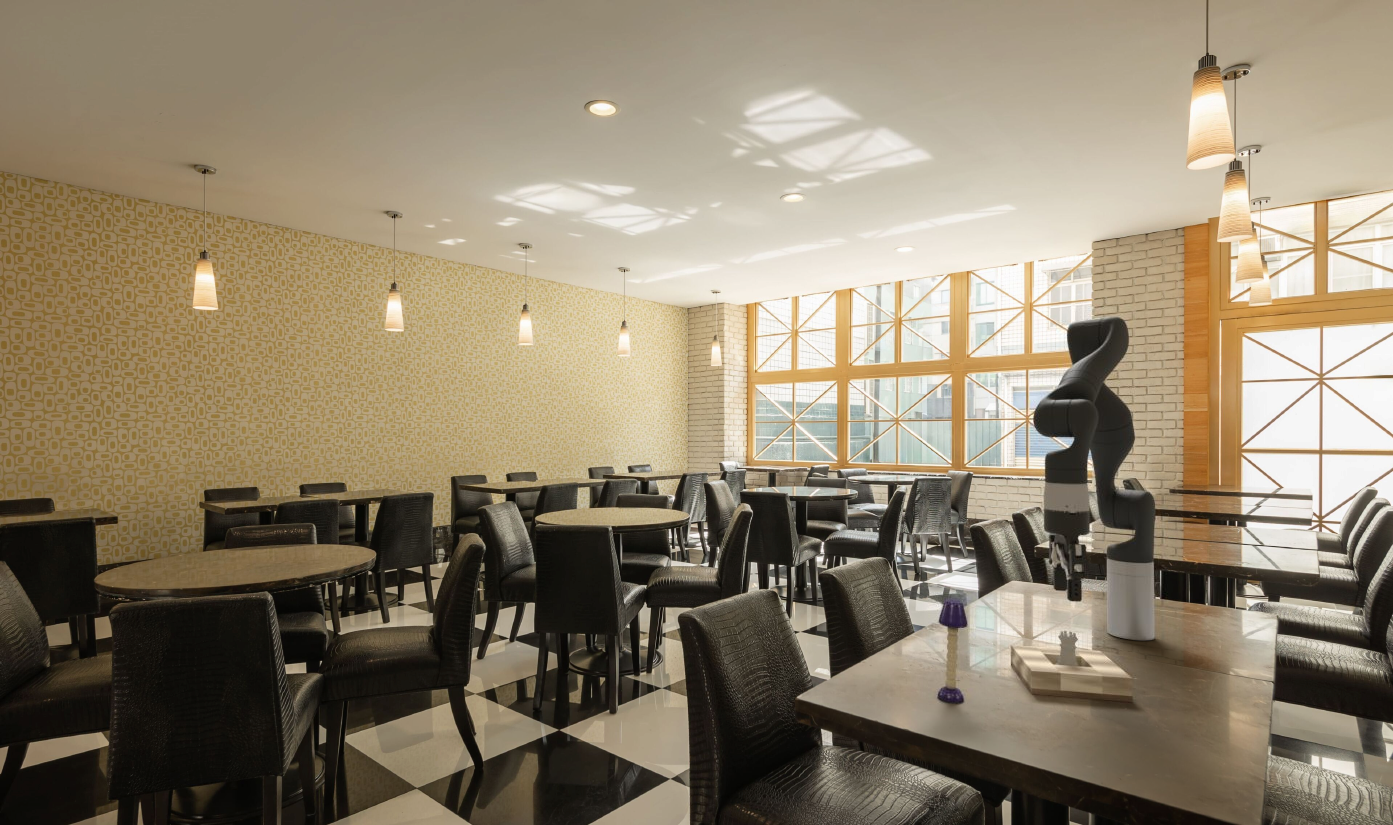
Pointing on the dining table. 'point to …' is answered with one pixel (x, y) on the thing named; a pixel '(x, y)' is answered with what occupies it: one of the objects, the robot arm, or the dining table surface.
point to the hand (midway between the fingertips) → (1067, 595)
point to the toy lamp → (952, 647)
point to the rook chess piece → (1067, 649)
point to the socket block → (1071, 674)
